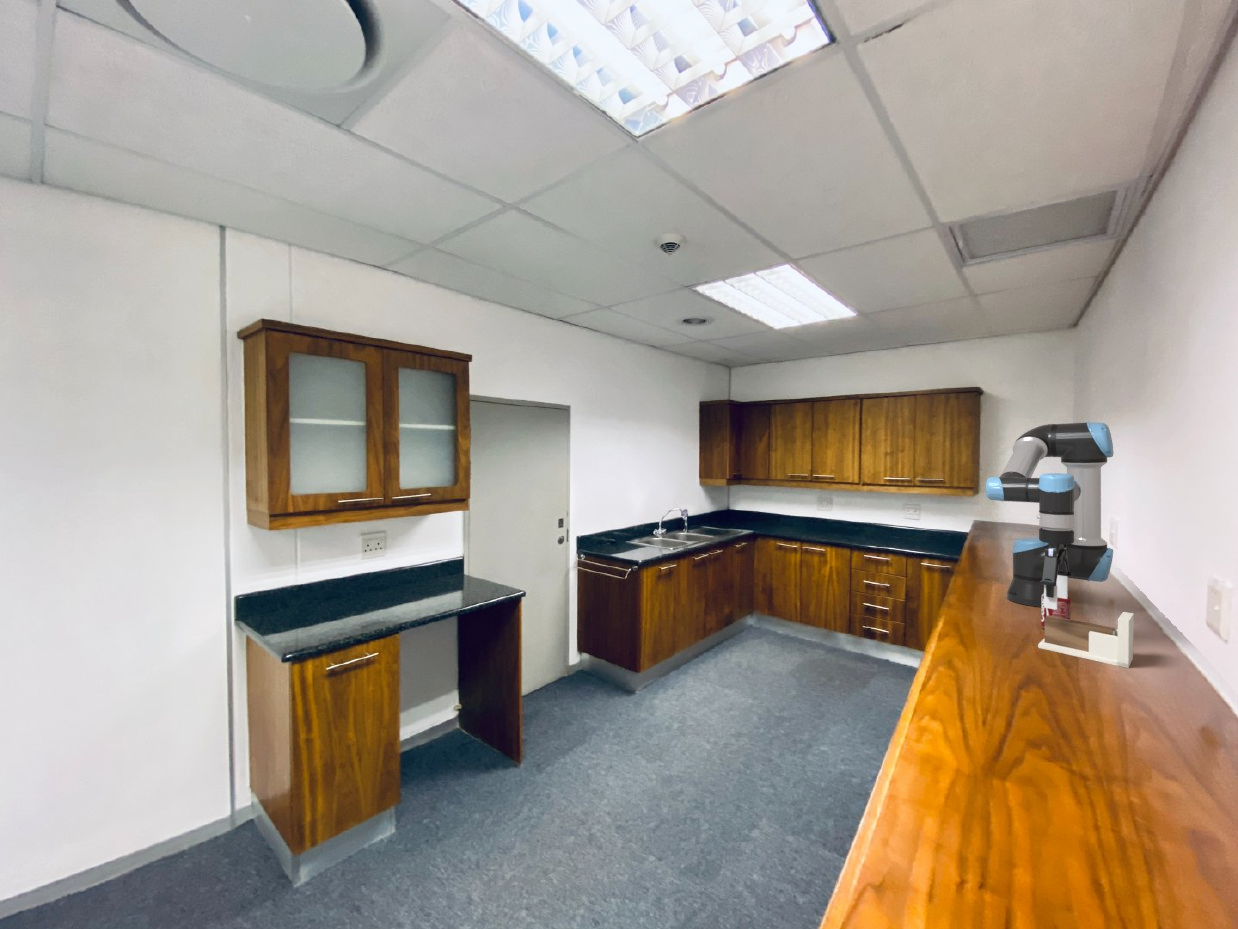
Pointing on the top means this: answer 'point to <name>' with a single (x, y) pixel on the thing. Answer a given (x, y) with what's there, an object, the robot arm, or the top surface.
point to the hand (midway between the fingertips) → (1056, 603)
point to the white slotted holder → (1105, 644)
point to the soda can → (1061, 611)
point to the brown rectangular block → (1072, 632)
